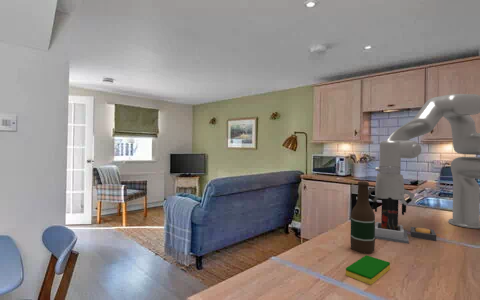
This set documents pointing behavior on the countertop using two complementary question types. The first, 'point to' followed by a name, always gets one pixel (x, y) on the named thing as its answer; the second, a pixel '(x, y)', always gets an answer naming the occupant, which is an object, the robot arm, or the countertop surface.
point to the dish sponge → (368, 269)
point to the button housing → (423, 234)
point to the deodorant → (389, 214)
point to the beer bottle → (363, 222)
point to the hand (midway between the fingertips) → (389, 212)
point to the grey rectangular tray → (391, 234)
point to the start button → (422, 230)
